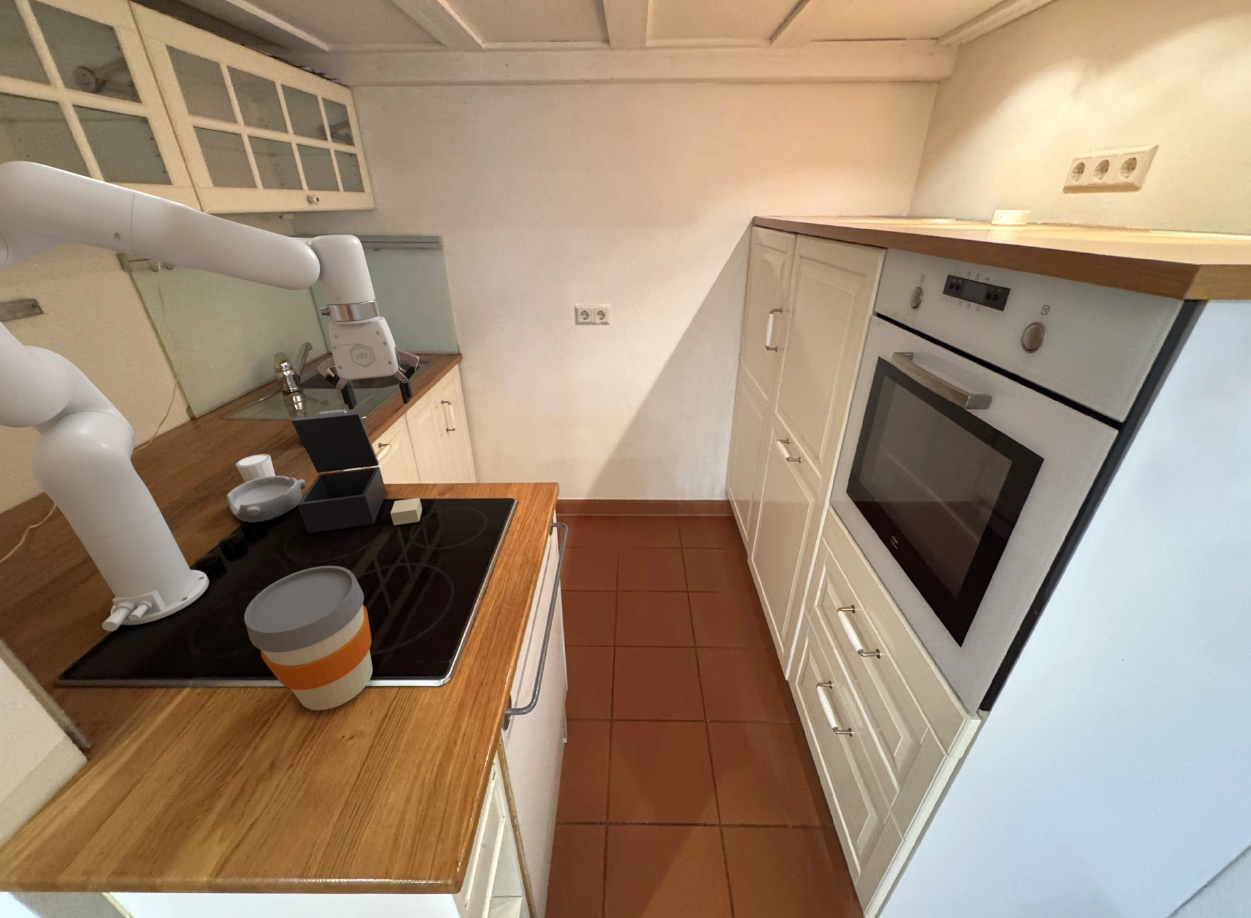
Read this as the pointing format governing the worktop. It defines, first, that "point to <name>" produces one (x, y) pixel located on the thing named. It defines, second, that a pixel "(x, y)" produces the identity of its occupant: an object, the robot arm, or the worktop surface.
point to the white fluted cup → (255, 467)
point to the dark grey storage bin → (342, 500)
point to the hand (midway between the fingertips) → (380, 404)
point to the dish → (265, 498)
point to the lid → (336, 441)
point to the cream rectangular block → (406, 511)
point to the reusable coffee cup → (314, 635)
